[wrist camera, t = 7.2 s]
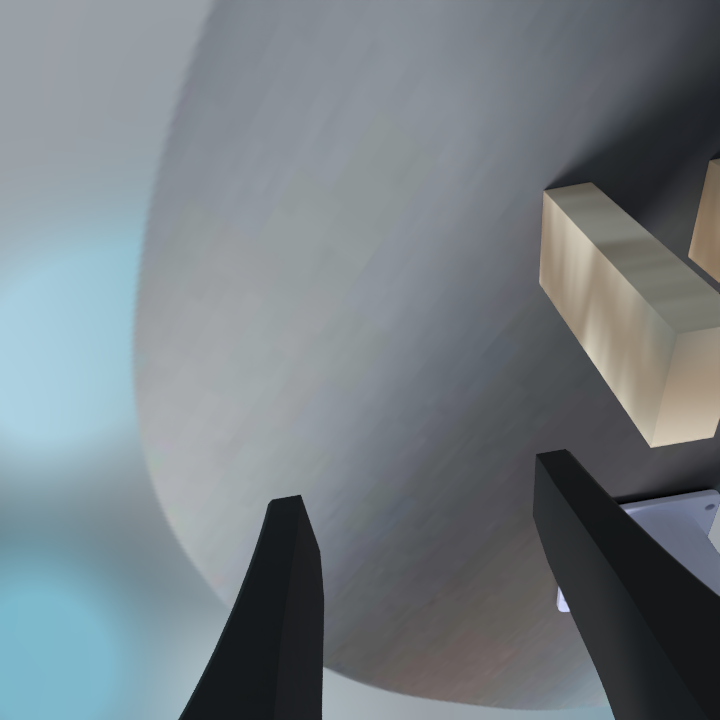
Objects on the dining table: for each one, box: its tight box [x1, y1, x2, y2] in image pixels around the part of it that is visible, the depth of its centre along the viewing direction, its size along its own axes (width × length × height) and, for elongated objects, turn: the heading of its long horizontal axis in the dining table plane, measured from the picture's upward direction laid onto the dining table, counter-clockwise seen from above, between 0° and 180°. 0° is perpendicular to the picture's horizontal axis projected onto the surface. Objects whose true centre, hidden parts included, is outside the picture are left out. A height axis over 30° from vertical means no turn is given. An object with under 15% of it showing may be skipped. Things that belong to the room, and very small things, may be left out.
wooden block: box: [539, 182, 720, 448], centre depth 17 cm, size 4×2×8 cm, turn 9°
